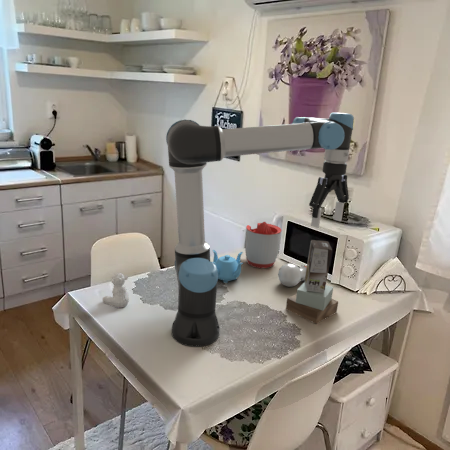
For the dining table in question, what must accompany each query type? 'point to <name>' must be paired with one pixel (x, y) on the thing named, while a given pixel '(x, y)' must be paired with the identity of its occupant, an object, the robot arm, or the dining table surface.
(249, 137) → the robot arm
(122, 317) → the dining table surface
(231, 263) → the teapot
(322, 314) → the tower base
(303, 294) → the tower top
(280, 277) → the potion bottle
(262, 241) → the citrus juicer
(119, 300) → the sitting furry creature
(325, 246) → the coffee box
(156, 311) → the dining table surface
